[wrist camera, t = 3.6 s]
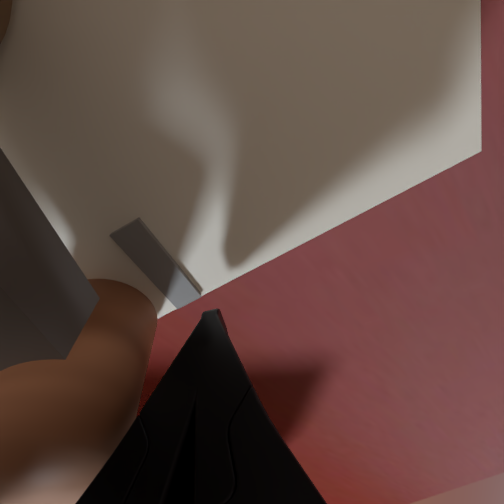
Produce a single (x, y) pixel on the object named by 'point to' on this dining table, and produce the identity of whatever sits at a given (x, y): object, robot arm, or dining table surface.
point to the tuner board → (228, 124)
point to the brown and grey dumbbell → (60, 354)
